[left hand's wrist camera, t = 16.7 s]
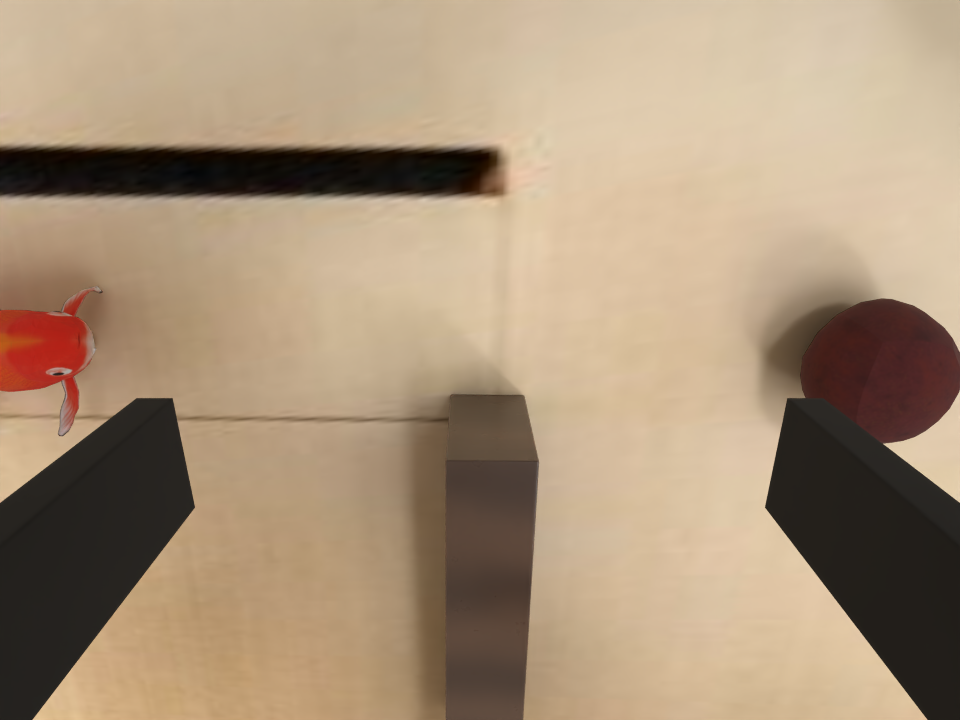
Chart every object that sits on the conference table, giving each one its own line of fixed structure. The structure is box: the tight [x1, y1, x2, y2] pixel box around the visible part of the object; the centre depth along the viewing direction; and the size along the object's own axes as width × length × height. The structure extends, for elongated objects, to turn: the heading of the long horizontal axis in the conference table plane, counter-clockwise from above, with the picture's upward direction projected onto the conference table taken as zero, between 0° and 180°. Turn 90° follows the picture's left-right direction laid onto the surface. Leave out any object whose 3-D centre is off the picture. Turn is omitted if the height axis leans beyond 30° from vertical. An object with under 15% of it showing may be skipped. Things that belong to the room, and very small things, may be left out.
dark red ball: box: [800, 299, 960, 444], centre depth 32 cm, size 7×8×7 cm
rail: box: [446, 395, 539, 720], centre depth 36 cm, size 26×4×8 cm, turn 179°
